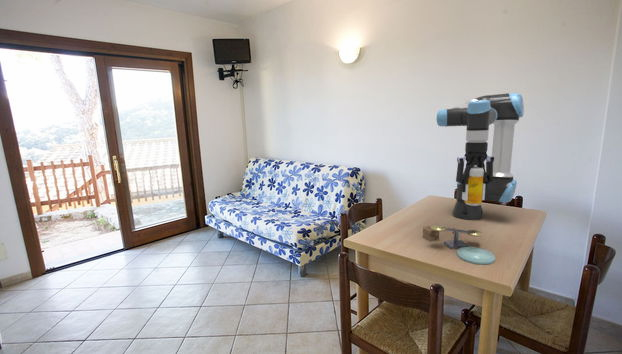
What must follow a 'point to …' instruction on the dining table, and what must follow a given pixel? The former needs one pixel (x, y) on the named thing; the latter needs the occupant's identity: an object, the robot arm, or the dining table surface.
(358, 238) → the dining table surface
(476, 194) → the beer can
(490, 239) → the dining table surface
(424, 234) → the walnut block
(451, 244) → the balance
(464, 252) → the dish
